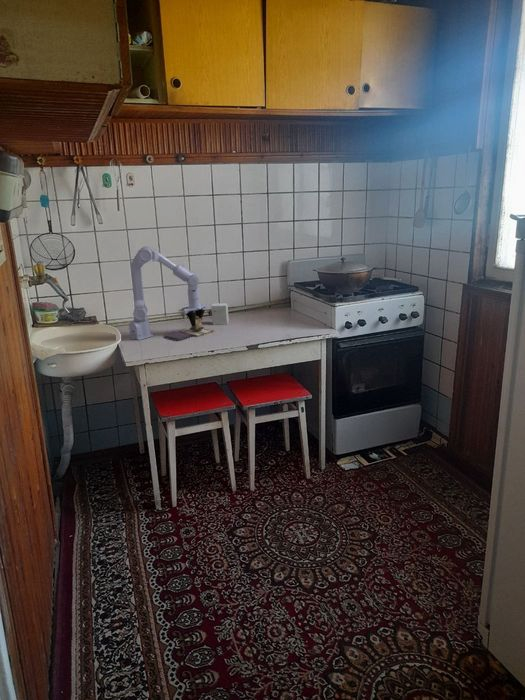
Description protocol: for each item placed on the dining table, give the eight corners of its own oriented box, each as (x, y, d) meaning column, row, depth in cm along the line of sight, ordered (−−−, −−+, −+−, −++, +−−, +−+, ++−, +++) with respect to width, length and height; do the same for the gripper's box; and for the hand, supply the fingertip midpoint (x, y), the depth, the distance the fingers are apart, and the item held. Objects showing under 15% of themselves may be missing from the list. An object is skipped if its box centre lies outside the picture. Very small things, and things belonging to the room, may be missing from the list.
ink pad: (178, 341, 236) (178, 339, 236) (163, 337, 243) (163, 335, 242) (192, 336, 243) (192, 334, 242) (177, 333, 249) (177, 331, 249)
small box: (228, 322, 268) (227, 303, 265) (227, 324, 263) (226, 305, 260) (214, 322, 269) (213, 303, 266) (212, 324, 264) (211, 305, 260)
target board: (197, 336, 242) (197, 335, 242) (179, 332, 250) (179, 331, 250) (214, 331, 250) (214, 330, 250) (195, 327, 259) (195, 326, 258)
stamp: (196, 331, 247) (195, 318, 244) (189, 329, 250) (188, 316, 248) (203, 328, 250) (202, 316, 248) (196, 327, 253) (196, 314, 251)
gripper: (188, 301, 237) (190, 329, 241) (210, 296, 248) (212, 322, 252) (178, 300, 242) (181, 327, 246) (200, 295, 252) (202, 320, 256)
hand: (196, 324), depth 249 cm, fingers closed on stamp, 3 cm apart
